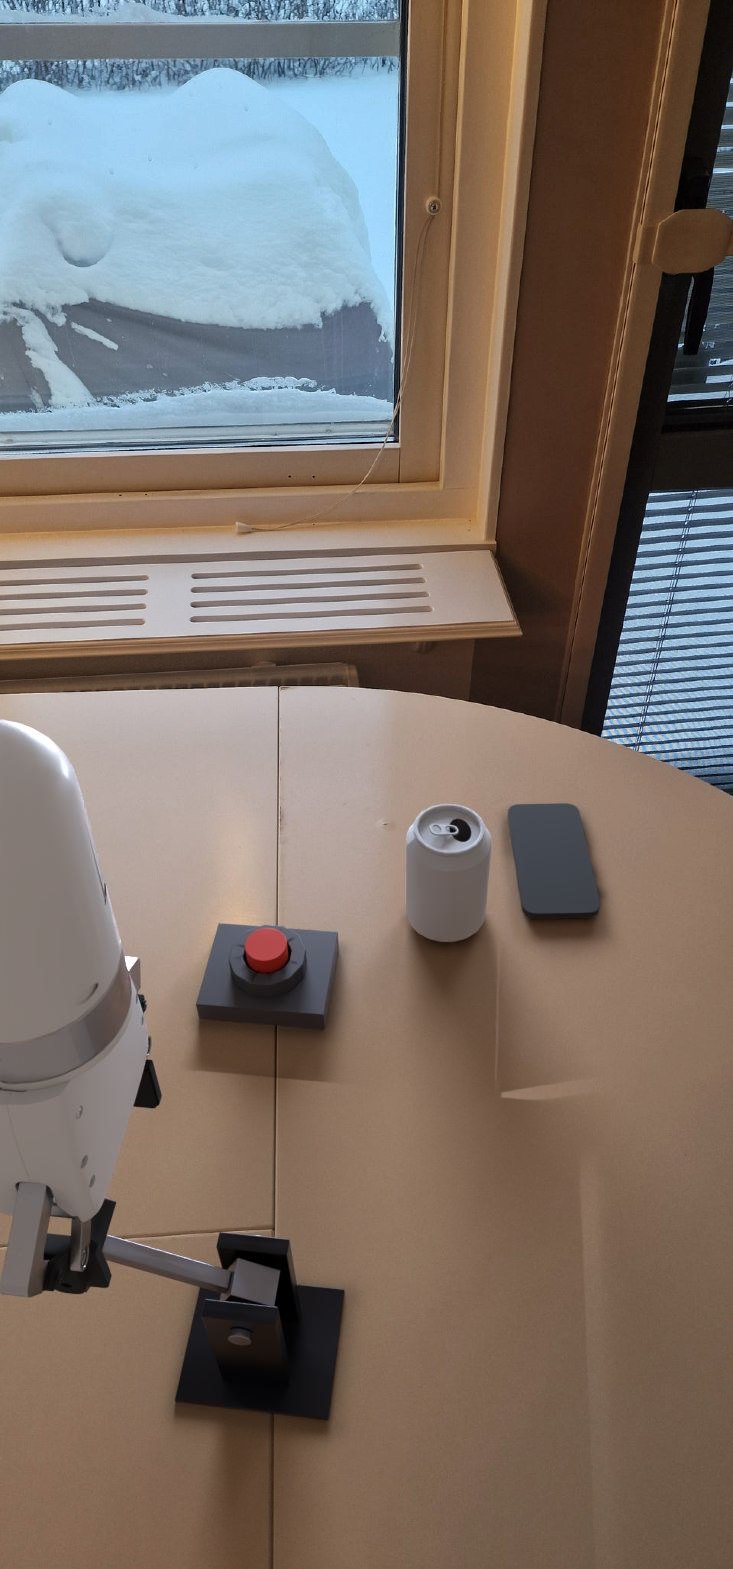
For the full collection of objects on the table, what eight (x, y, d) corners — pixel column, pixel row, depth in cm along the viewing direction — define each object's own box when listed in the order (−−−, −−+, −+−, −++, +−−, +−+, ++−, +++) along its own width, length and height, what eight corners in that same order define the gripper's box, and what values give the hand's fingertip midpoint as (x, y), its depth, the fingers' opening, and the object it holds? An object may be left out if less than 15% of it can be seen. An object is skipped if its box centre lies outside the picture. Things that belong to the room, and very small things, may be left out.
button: (243, 971, 89) (241, 959, 87) (251, 939, 91) (249, 926, 90) (284, 975, 88) (282, 962, 87) (291, 942, 91) (290, 929, 90)
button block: (199, 1019, 89) (192, 991, 87) (221, 938, 96) (216, 909, 93) (324, 1029, 88) (322, 1001, 86) (338, 946, 95) (337, 918, 92)
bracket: (177, 1406, 67) (147, 1337, 59) (204, 1280, 73) (181, 1203, 65) (329, 1424, 66) (319, 1357, 58) (345, 1295, 72) (338, 1219, 64)
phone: (578, 802, 107) (603, 912, 96) (577, 808, 108) (602, 918, 96) (506, 804, 107) (523, 914, 96) (505, 809, 108) (522, 920, 97)
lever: (62, 1289, 60) (71, 1276, 58) (89, 1206, 64) (98, 1191, 62) (256, 1343, 62) (270, 1332, 61) (271, 1260, 66) (284, 1247, 64)
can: (494, 941, 95) (502, 851, 87) (414, 953, 94) (415, 863, 86) (474, 882, 100) (480, 791, 92) (398, 892, 100) (398, 802, 92)
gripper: (21, 834, 49) (88, 1036, 61) (-149, 1182, 37) (-23, 1353, 48) (176, 845, 49) (213, 1048, 60) (56, 1204, 36) (133, 1372, 48)
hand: (108, 1183), depth 54 cm, fingers open, 9 cm apart
